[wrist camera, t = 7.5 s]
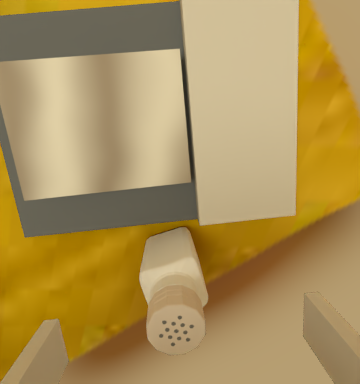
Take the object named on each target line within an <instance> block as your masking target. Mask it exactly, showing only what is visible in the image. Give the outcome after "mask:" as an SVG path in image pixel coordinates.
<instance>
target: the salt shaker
mask: <svg viewBox="0 0 360 384" xmlns="http://www.w3.org/2000/svg"><path fill="white" fill-rule="evenodd" d="M139 281H140V284H141V287H142V290H143V293H144V296H145V299H146V301H147V303H148V314H147V315H148V316H147V322H146V329H147V339H148V340H149V342H150V343H151V344H152V345H153V346H154V348H155V349H156V350H158V351H160V352H163V353H165V354H168V355H180V354H186V353H188V352H190V351H191V350H193V349H195V348H197V347H198V346H199V344H200V343H201V341H202V340H203V338H204V336H205V335H206V331H205V330H206V327H205V317H204V312H203V307H204V306H205V305H206V303H207V301H208V293H207V289H206V286H205V282H204V278H203V274H202V270H201V266H200V262H199V258H198V255H197V252H196V249H195V246H194V243H193V240H192V237H191V234H190V231H189V230H188V229H187V228H186V227H180V228H177V229H174V230H171V231H167V232H164V233H161V234H158V235H155V236H152V237H150V238H148V239H147V240H146V245H145V249H144V254H143V259H142V264H141V269H140V276H139Z"/></svg>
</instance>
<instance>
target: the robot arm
mask: <svg viewBox="0 0 360 384" xmlns="http://www.w3.org/2000/svg"><path fill="white" fill-rule="evenodd" d="M303 327H304V328H303V337H304V338H305V340H306V341H307V342H308V344H309V346H310V347H311V349H312V350H313V352H314V353H315V355H316V356H317V358H318V360H319V361H320V362H321V364H322V366H323V367H324V368H325V370H326V371H327V373H328V375H329V376H330V378H331V379H332V381H333V382H334V384H360V335H359V334H358V333H357V332H356V331H355V330H354V329H353V328H352V327H351V326H350V324H349V323H348V322H347V321H346V320H345V319H344V318H343V317H342V316H341V315H340V314H339V313H338V312H337V311H336V310H335V309H334V308H333V307H332V306H331V305H330V303H328V301H327V300H326V299H325V298H324V297H323V296H322V295H321V294H320V293H319V292H311V293H304V325H303ZM68 362H69V360H68V356H67V352H66V348H65V343H64V339H63V335H62V331H61V327H60V323H59V319H54V320H44V321H43V323H42V324H41V326H40V327H39V328H38V330H37V331H36V333H35V334H34V336H33V337H32V338H31V340H30V341H29V343H28V344H27V345H26V347H25V348H24V350H23V351H22V353H21V354H20V355H19V357H18V358H17V360H16V361H15V363H14V364H13V365H12V367H11V368H10V370H9V371H8V373H7V374H6V375H5V377H4V378H3V380H2V381H1V383H0V384H59V382H60V379H61V377H62V375H63V373H64V371H65V369H66V366H67V364H68Z"/></svg>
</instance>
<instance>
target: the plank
mask: <svg viewBox="0 0 360 384" xmlns="http://www.w3.org/2000/svg"><path fill="white" fill-rule="evenodd" d="M0 106H1V110H2V114H3V118H4V122H5V126H6V130H7V134H8V138H9V142H10V146H11V150H12V154H13V158H14V162H15V166H16V170H17V174H18V178H19V182H20V186H21V190H22V194H23V198H24V201H27V200H36V199H45V198H54V197H63V196H72V195H81V194H90V193H99V192H108V191H117V190H126V189H135V188H144V187H153V186H162V185H171V184H180V183H189V182H191V174H190V162H189V150H188V139H187V127H186V115H185V104H184V92H183V81H182V69H181V57H180V49H169V50H155V51H141V52H128V53H114V54H100V55H86V56H73V57H59V58H45V59H31V60H17V61H4V62H0Z"/></svg>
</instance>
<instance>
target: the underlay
mask: <svg viewBox="0 0 360 384" xmlns="http://www.w3.org/2000/svg"><path fill="white" fill-rule="evenodd" d="M298 18H299V0H180V1H176V2H164V3H151V4H139V5H127V6H114V7H102V8H90V9H78V10H65V11H53V12H41V13H28V14H16V15H4V16H0V62H4V61H17V60H31V59H45V58H59V57H73V56H86V55H100V54H114V53H128V52H141V51H155V50H169V49H180V57H181V69H182V81H183V92H184V104H185V115H186V127H187V139H188V150H189V162H190V174H191V182H189V183H180V184H171V185H162V186H153V187H144V188H135V189H126V190H117V191H108V192H99V193H90V194H81V195H72V196H63V197H54V198H45V199H36V200H27V201H24V198H23V194H22V190H21V186H20V182H19V178H18V174H17V170H16V166H15V162H14V158H13V154H12V150H11V146H10V142H9V138H8V134H7V130H6V126H5V122H4V118H3V114H2V110H1V106H0V143H1V147H2V151H3V155H4V159H5V163H6V167H7V170H8V174H9V178H10V182H11V186H12V190H13V194H14V198H15V201H16V205H17V209H18V213H19V217H20V221H21V225H22V228H23V232H24V236H25V237H34V236H43V235H52V234H62V233H71V232H80V231H89V230H99V229H108V228H117V227H127V226H136V225H145V224H154V223H164V222H173V221H182V220H192V219H198V221H199V224H200V226H201V225H210V224H220V223H229V222H238V221H247V220H256V219H266V218H275V217H284V216H293V215H296V158H297V88H298Z"/></svg>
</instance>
